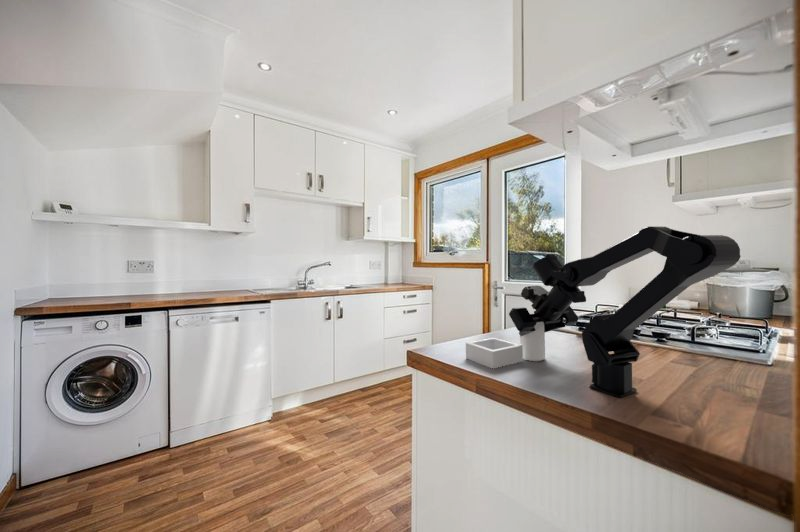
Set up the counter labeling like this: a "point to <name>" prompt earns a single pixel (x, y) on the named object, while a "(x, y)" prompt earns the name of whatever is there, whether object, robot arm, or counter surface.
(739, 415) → the counter surface
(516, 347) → the box
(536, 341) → the can
